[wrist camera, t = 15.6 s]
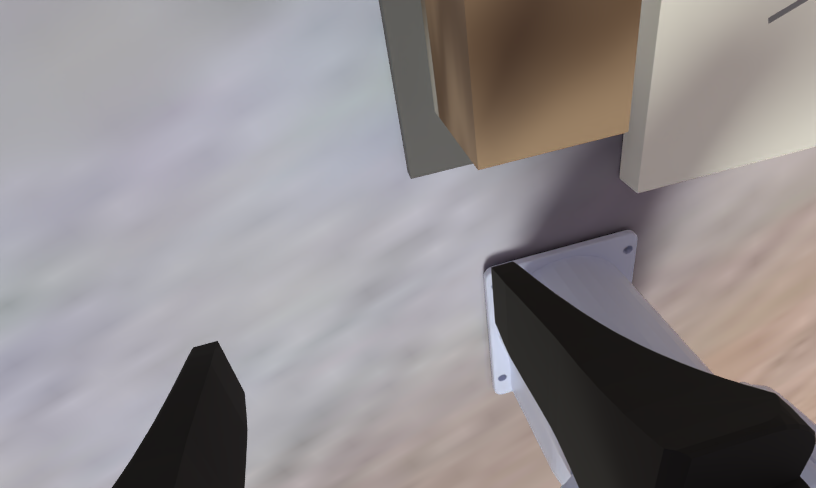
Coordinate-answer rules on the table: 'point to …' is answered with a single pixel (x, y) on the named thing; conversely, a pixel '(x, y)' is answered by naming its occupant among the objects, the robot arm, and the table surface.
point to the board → (719, 88)
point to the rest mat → (416, 92)
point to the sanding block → (531, 73)
